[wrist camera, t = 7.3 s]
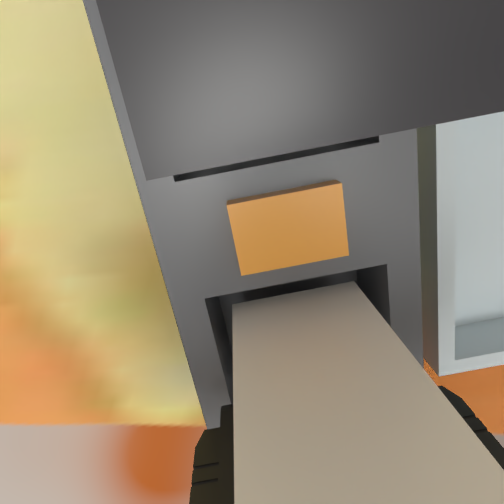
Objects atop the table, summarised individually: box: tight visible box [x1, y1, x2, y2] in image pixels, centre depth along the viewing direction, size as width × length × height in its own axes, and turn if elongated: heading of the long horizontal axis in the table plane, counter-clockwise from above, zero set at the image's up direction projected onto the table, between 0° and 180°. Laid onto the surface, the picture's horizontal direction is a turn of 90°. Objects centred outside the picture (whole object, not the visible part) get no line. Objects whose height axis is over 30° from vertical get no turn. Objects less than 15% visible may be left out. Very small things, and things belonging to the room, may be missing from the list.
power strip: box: [83, 0, 504, 429], centre depth 9 cm, size 20×8×10 cm, turn 10°
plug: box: [232, 281, 504, 504], centre depth 8 cm, size 4×5×9 cm
